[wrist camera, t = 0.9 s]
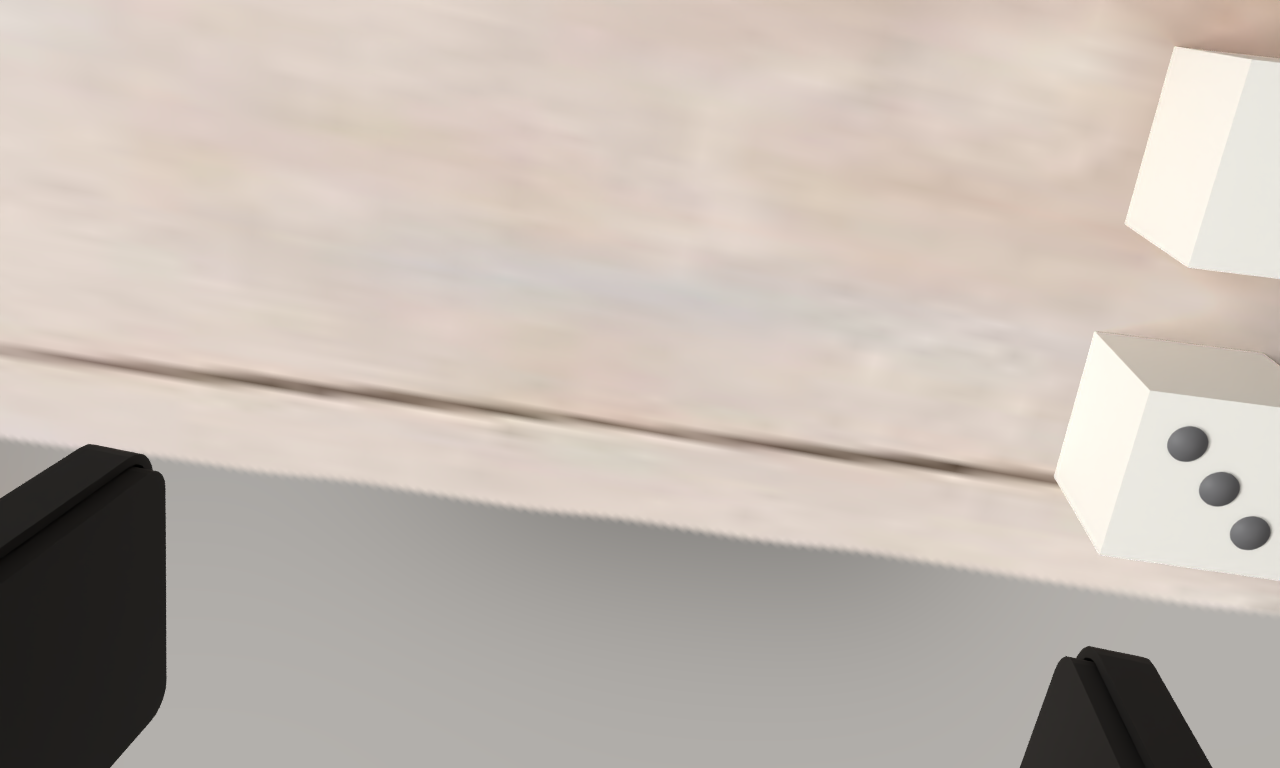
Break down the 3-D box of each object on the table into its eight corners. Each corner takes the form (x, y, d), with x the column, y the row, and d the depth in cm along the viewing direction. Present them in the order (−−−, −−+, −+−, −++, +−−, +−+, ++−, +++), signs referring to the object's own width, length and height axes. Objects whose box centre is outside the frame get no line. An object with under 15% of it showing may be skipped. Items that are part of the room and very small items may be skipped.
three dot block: (1093, 330, 38) (1151, 391, 33) (1264, 352, 38) (1352, 417, 32) (1053, 476, 41) (1100, 556, 35) (1214, 498, 40) (1288, 583, 35)
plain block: (1173, 46, 35) (1251, 59, 29) (1360, 67, 34) (1475, 84, 29) (1123, 223, 37) (1187, 267, 31) (1299, 245, 36) (1395, 293, 31)
